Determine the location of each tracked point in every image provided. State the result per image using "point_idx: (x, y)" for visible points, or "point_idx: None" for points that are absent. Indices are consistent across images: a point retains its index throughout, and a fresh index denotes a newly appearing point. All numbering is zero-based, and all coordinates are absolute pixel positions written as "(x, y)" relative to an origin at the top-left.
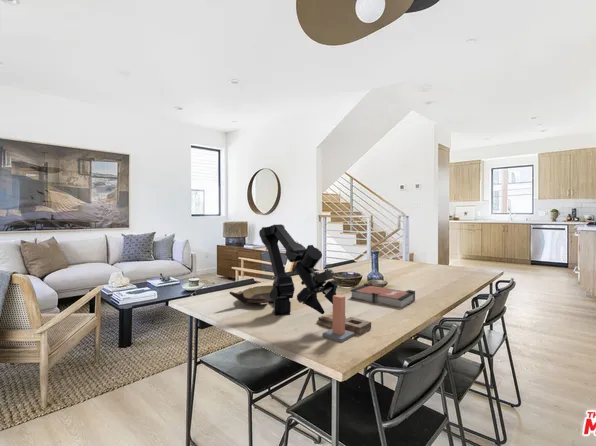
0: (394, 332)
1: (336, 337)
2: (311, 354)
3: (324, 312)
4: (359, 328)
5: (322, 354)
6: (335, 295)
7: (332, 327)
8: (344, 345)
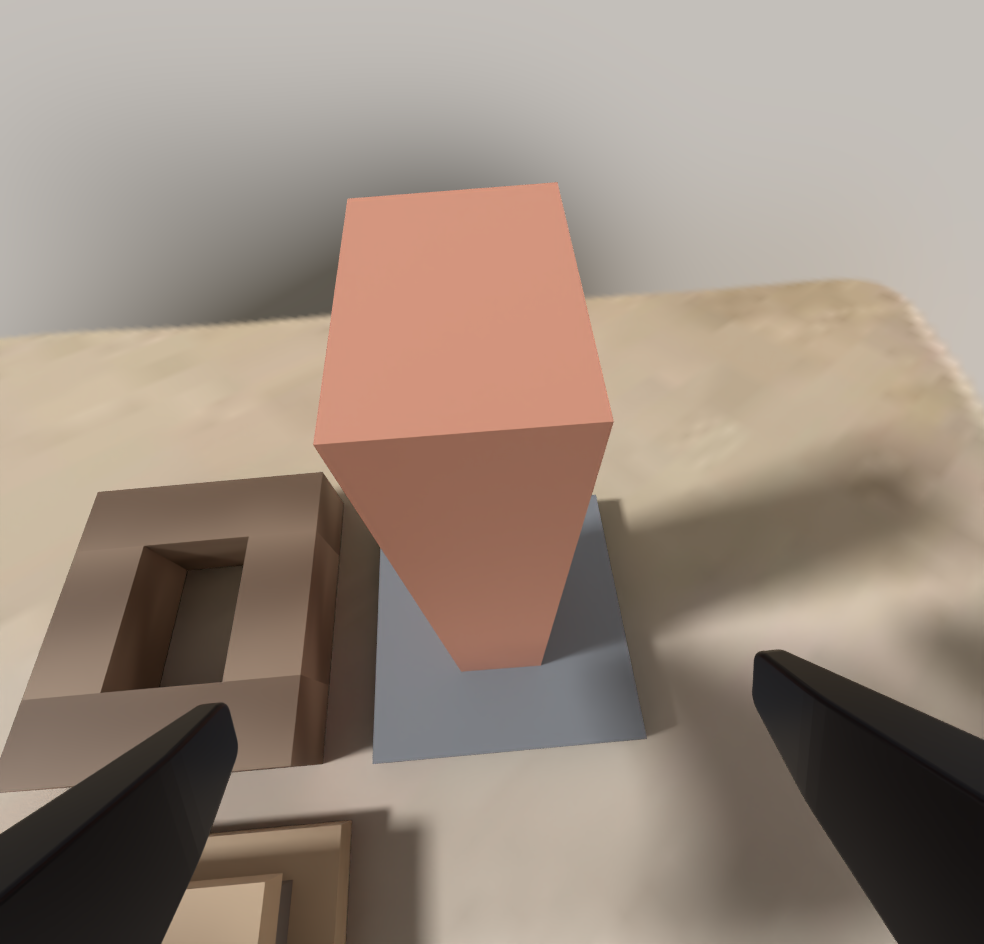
0: (141, 373)
1: (603, 551)
2: (967, 516)
3: (760, 652)
4: (324, 482)
5: (877, 464)
6: (494, 387)
7: (542, 656)
8: (618, 459)
